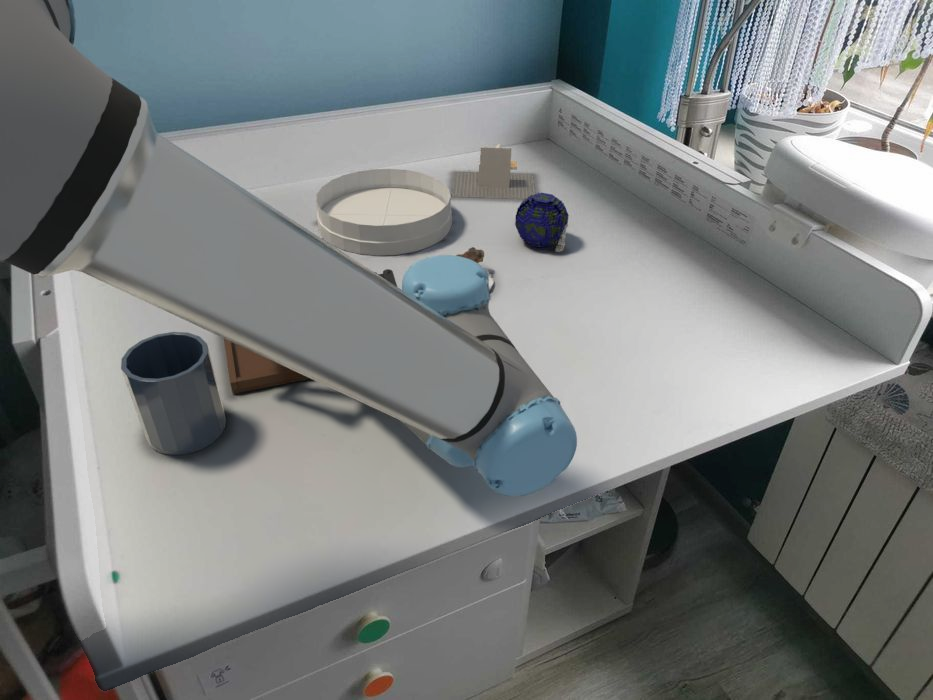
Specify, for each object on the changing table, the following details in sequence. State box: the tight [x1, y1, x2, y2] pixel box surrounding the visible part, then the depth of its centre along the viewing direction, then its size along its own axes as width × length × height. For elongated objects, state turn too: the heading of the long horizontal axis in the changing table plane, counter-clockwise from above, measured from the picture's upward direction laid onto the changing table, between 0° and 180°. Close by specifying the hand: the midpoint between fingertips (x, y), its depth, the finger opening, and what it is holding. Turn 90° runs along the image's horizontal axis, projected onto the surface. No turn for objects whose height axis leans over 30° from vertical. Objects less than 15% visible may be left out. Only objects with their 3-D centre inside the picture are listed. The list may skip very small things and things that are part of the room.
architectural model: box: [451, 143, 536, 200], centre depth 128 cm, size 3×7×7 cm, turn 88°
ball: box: [514, 192, 570, 253], centre depth 110 cm, size 8×8×8 cm
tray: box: [223, 338, 312, 395], centre depth 90 cm, size 20×18×2 cm
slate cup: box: [120, 331, 227, 456], centre depth 73 cm, size 8×8×10 cm
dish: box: [315, 168, 453, 256], centre depth 115 cm, size 22×22×5 cm
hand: (288, 279), depth 87 cm, fingers open, 13 cm apart
